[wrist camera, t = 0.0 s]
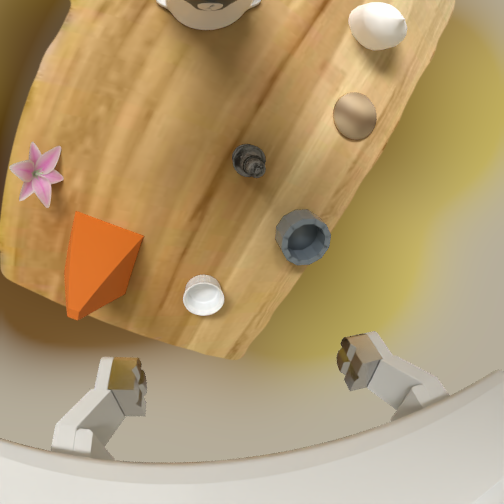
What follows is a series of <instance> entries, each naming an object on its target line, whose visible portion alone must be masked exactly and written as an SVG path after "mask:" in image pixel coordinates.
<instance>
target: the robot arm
mask: <svg viewBox="0 0 504 504" xmlns="http://www.w3.org/2000/svg"><path fill="white" fill-rule="evenodd" d="M156 1H157V3H158V4H159V5H160V6H162V7H164V8H166V9H168V10H169V11H170V12H171V13H172V14H173V16H174V17H175V18H176V19H177V20H178V21H179V22H181V23H182V24H184V25H186V26H188V27H191V28H194V29H199V30H214V29H219V28H223V27H226V26H228V25H230V24H232V23H233V22H235V21H236V20H238V19H239V18H240V17H241V16H242V15H243V13H244V12H245V11H246V10H248V9H250V8H252V7H255V6H257V5H258V4H259V3H260V2H261V0H156ZM341 346H342V348H341V349H340V350H339V351H338V354H337V365H338V368H339V370H340V372H341V373H343V374H345V378H344V380H345V382H346V384H347V386H348V388H349V390H350V391H353V390H357V389H361V388H365V387H367V388H368V389H369V390H370V391H372V392H373V393H374V394H376V395H377V396H378V397H380V398H381V399H383V400H384V401H385V402H387V403H388V404H389V405H391V406H392V407H393V408H395V409H396V410H397V411H396V412H395V413H394V415H393V416H392V418H391V422H389V423H386V424H383V425H381V426H377V427H375V428H372V429H369V430H366V431H363V432H359V433H357V434H353V435H350V436H346V437H343V438H339V439H336V440H332V441H328V442H324V443H321V444H317V445H312V446H308V447H303V448H299V449H294V450H289V451H284V452H278V453H273V454H267V455H260V456H253V457H246V458H238V459H228V460H218V461H205V462H204V461H203V462H183V463H181V462H180V463H153V462H151V463H150V462H129V461H115V460H114V458H113V457H112V455H111V454H110V453H109V452H108V451H107V450H106V449H105V445H106V444H107V442H108V441H109V439H110V438H111V437H112V435H113V434H114V432H115V431H116V430H117V428H118V427H119V425H120V424H121V423H122V421H123V420H124V418H125V416H145V414H146V413H145V412H146V401H145V399H144V396H145V395H146V393H147V382H146V376H145V373H144V371H143V370H142V369H141V365H142V364H141V361H140V359H139V358H126V357H102V359H101V360H100V365H99V369H98V374H97V379H96V383H95V388H94V389H91V390H90V391H89V392H88V393H87V394H86V395H85V396H84V397H83V398H82V399H81V400H80V401H79V402H78V403H77V404H76V405H75V406H74V407H73V408H72V409H71V410H70V411H69V412H68V413H67V414H66V415H65V416H64V417H63V418H62V419H61V420H60V421H59V422H58V423H57V424H56V427H55V431H54V436H53V441H52V446H51V451H47V450H43V449H39V448H34V447H30V446H26V445H23V444H19V443H15V442H12V441H8V440H5V439H2V438H0V504H504V371H502V370H495V371H493V372H492V373H490V374H488V375H487V376H485V377H483V378H482V379H480V380H478V381H476V382H475V383H473V384H471V385H470V386H467V387H466V388H464V389H462V390H460V391H458V392H456V393H454V394H452V395H449V394H448V392H447V391H446V390H445V388H444V387H443V385H442V384H441V382H440V381H439V379H438V378H437V377H436V376H434V375H432V374H430V373H428V372H426V371H424V370H422V369H421V368H419V367H417V366H415V365H413V364H411V363H409V362H407V361H405V360H403V359H401V358H399V357H398V356H393V355H392V354H391V352H390V351H389V349H388V348H387V346H386V345H385V343H384V342H383V340H382V339H381V338H380V336H379V335H378V333H376V332H375V331H374V332H369V333H365V334H359V335H354V336H350V337H344V338H343V339H342V342H341Z"/></svg>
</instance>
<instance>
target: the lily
mask: <svg viewBox="0 0 504 504" xmlns="http://www.w3.org/2000/svg"><path fill="white" fill-rule="evenodd" d="M60 152H61V146H57V147H55V148H53V149H51V150H49V151H47V152H45V153H44V154H43V155H41V153H40V151H39V149H38V147H37V146H36V145H35V143H34V142H31V145H30V151H29V160H25V161H21V162H18V163H15V164H12V165H11V166H10V167H9V168H10V170H11V171H12V172H13V173H14V174H15V175H16V176H17V177H19V178H20V179H21V180H22V181H24V183H23V186H22V189H21V193H20V197H19V201H22V200H24V199H25V198H27V197H28V196H30V195H31V194H32V193H33V192H35V194H36V195H37V197H38V198H39V199H40V201H41V202H42V203H43V204H44V206H45V207H47V208H49V206H50V201H51V184H54V183H58V182H60V181H62V180H63V177H62V175H61V174H60V173H59V172H57V171H56V170H55V169H54V168H55V166H56V164H57V162H58V159H59V156H60Z"/></svg>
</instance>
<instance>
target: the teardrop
mask: <svg viewBox="0 0 504 504" xmlns="http://www.w3.org/2000/svg"><path fill="white" fill-rule="evenodd" d="M349 26H350V29H351V32H352V35H353V36H354V37H355V38H356V40H357V41H358V42H359V43H360V44H361V45H362V46H364V47H366V48H367V49H370V50H374V51H375V50H384V49H387V48H391V47H395V46H396V45H398V44H399V43H400V42H401V41H402V40H404V38H405V36H406V33H407V25H406V22H405V18H404V17H403V16H402V15H401V13H400V12H399V11H398V10H397V9H396V8H395V7H393V6H392V5H389V4H386V3H382V2H371V3H367V4H364V5H360V6H358V7H357V8H355V9H354V10H352V11H351V13H350V16H349Z"/></svg>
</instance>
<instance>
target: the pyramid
mask: <svg viewBox="0 0 504 504" xmlns="http://www.w3.org/2000/svg"><path fill="white" fill-rule="evenodd" d="M143 237H144V236H143V235H140V234H137V233H134V232H132V231H129V230H126V229H123V228H121V227H118V226H115V225H112V224H110V223H107V222H104V221H102V220H99V219H96V218H93V217H91V216H88V215H85V214H83V213H80V212H77V211H76V213H75V217H74V222H73V226H72V231H71V236H70V241H69V247H68V252H67V258H66V265H65V271H64V275H65V294H66V307H67V316H68V317H70V318H73V319H75V320H79V319H81V318H83V317H85V316H87V315H88V314H90V313H92V312H94V311H95V310H97V309H99V308H101V307H103V306H104V305H106V304H108V303H110V302H112V301H113V300H115V299H117V298H119V297H121V296H122V295H124V294H125V293H126V290H127V286H128V283H129V280H130V276H131V273H132V270H133V267H134V264H135V261H136V258H137V255H138V252H139V249H140V246H141V243H142V240H143Z"/></svg>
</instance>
